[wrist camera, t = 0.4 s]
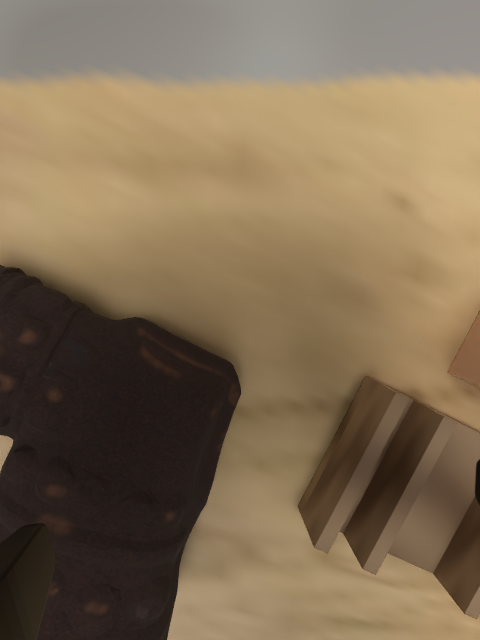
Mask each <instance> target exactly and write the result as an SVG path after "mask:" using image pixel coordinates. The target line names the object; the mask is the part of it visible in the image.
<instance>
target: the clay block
mask: <svg viewBox="0 0 480 640" xmlns="http://www.w3.org/2000/svg"><path fill="white" fill-rule="evenodd" d="M448 373H450V374H452V375H454V376H456V377H458V378H460V379H462V380H464V381H466V382H468V383H469V384H471V385H473V386H475V387H477V388H479V389H480V312H479V314H478V316H477V318H476V319H475V321H474V323H473V325H472V327H471V329H470V331H469V333H468V334H467V336H466V338H465V340H464V342H463V344H462V346H461V348H460V349H459V351H458V353H457V355H456V357H455V359H454V361H453V363H452V365H451V366H450V368H449V370H448Z"/></svg>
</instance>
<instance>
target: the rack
mask: <svg viewBox="0 0 480 640" xmlns="http://www.w3.org/2000/svg"><path fill="white" fill-rule="evenodd" d="M479 459H480V433H479V432H477V431H475V430H473V429H471V428H469V427H467V426H465V425H463V424H462V423H460V422H458V421H456V420H454V419H452V418H450V417H448V416H446V415H444V414H442V413H440V412H438V411H436V410H434V409H432V408H430V407H428V406H426V405H424V404H422V403H420V402H418V401H416V400H414V399H412V398H410V397H408V396H406V395H404V394H402V393H400V392H398V391H396V390H394V389H392V388H390V387H388V386H386V385H384V384H382V383H380V382H378V381H376V380H374V379H372V378H370V377H368V376H366V377H365V379H364V381H363V383H362V385H361V387H360V389H359V391H358V392H357V394H356V396H355V398H354V400H353V402H352V404H351V406H350V408H349V410H348V412H347V413H346V415H345V417H344V419H343V421H342V423H341V425H340V427H339V429H338V431H337V433H336V435H335V436H334V438H333V440H332V442H331V444H330V446H329V448H328V450H327V452H326V454H325V456H324V457H323V459H322V461H321V463H320V465H319V467H318V469H317V471H316V473H315V475H314V477H313V479H312V480H311V482H310V484H309V486H308V488H307V490H306V492H305V494H304V496H303V498H302V500H301V501H300V503H299V505H298V508H299V511H300V513H301V516H302V518H303V521H304V523H305V526H306V528H307V531H308V533H309V536H310V538H311V541H312V543H313V546H314V548H316V549H318V550H321V551H323V552H325V553H327V554H328V552H329V550H330V548H331V547H332V545H333V543H334V541H335V539H336V537H337V535H338V533H339V531H340V532H342V533H343V534H344V535H345V537H346V539H347V541H348V543H349V545H350V547H351V548H352V550H353V552H354V554H355V556H356V558H357V560H358V561H359V563H360V565H361V567H362V569H364V570H366V571H368V572H371V573H373V574H375V575H376V573H377V571H378V570H379V568H380V566H381V564H382V562H383V560H384V558H385V556H386V555H387V553H389V554H391V555H393V556H395V557H398V558H400V559H402V560H404V561H406V562H409V563H411V564H413V565H415V566H418V567H420V568H422V569H424V570H427V571H429V572H431V573H433V574H434V575H435V577H436V578H437V579H438V580H439V582H440V583H441V584H442V586H443V587H444V588H445V589H446V591H447V592H448V593H449V595H450V596H451V597H452V598H453V600H454V601H455V602H456V604H457V605H458V606H459V607H460V609H461V610H462V611H463V613H464V614H466V615H468V616H471V617H473V618H475V619H477V618H478V616H479V614H480V506H479V504H478V502H477V500H476V497H475V474H476V463H477V461H478V460H479Z"/></svg>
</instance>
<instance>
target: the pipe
mask: <svg viewBox="0 0 480 640" xmlns="http://www.w3.org/2000/svg"><path fill="white" fill-rule="evenodd" d="M240 395H241V388H240V383H239V379H238V375H237V373H236V371H235V369H234V366H233V365H232V364H231V363H230V362H229V361H226V360H224V359H222V358H220V357H218V356H216V355H214V354H212V353H209V352H207V351H205V350H203V349H201V348H199V347H197V346H195V345H193V344H191V343H189V342H187V341H185V340H183V339H181V338H179V337H177V336H175V335H173V334H171V333H169V332H168V331H166V330H164V329H162V328H161V327H159V326H157V325H155V324H153V323H152V322H150V321H147V320H145V319H142V318H136V317H133V318H128V319H123V320H110V319H107V318H104V317H102V316H99V315H97V314H95V313H93V312H92V311H91V310H90V309H89V308H88V307H87V306H85V305H84V304H82V303H79V302H76V301H73V300H71V299H70V298H68V297H67V296H66V295H65V294H62V293H60V292H58V291H55V290H52V289H50V288H48V287H46V286H44V285H43V283H42V282H41V281H40V280H39V279H37V278H35V277H30V276H27V275H26V274H25V273H24V272H23V271H22V270H21V269H19V268H12V267H10V268H6V267H4V266H2V265H0V435H4V436H9V437H10V438H12V439H13V440H14V441H13V446H12V448H11V450H10V452H9V454H8V456H7V458H6V460H5V462H4V464H3V466H2V469H1V473H0V543H1V542H2V541H4V540H5V539H6V538H7V537H9V536H10V535H11V534H12V533H14V532H15V531H16V530H17V529H19V528H20V527H22V526H24V525H30V524H37V523H43V524H45V525H46V527H47V529H48V532H49V536H50V540H51V544H52V548H53V552H54V556H55V567H54V572H53V576H52V580H51V584H50V588H49V592H48V596H47V600H46V604H45V608H44V612H43V616H42V619H41V623H40V627H39V631H38V635H37V639H36V640H167V637H168V631H169V626H170V622H171V617H172V613H173V608H174V603H175V599H176V594H177V588H178V577H179V566H180V561H181V557H182V553H183V550H184V547H185V544H186V541H187V539H188V537H189V535H190V532H191V530H192V528H193V527H194V525H195V523H196V521H197V519H198V517H199V515H200V513H201V511H202V509H203V508H204V506H205V505H206V502H207V499H208V496H209V493H210V490H211V487H212V483H213V480H214V476H215V471H216V467H217V463H218V459H219V455H220V451H221V448H222V444H223V441H224V438H225V435H226V432H227V429H228V427H229V424H230V421H231V418H232V415H233V412H234V409H235V407H236V405H237V402H238V400H239V397H240Z"/></svg>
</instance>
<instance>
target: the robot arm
mask: <svg viewBox="0 0 480 640" xmlns="http://www.w3.org/2000/svg"><path fill="white" fill-rule="evenodd" d="M475 497H476V500H477V502H478V504H479V506H480V459H479V460H478V461H477V463H476V474H475ZM54 567H55V556H54V552H53V548H52V544H51V540H50V536H49V532H48V529H47V527H46V525H45V524H43V523H37V524H30V525H24V526H22V527H20V528H19V529H17V530H16V531H15V532H14V533H12V534H11V535H10V536H9V537H7V538H6V539H5V540H4V541H2V542H1V543H0V640H36V639H37V635H38V631H39V627H40V623H41V619H42V616H43V612H44V608H45V604H46V600H47V596H48V592H49V588H50V584H51V580H52V576H53V572H54Z"/></svg>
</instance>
